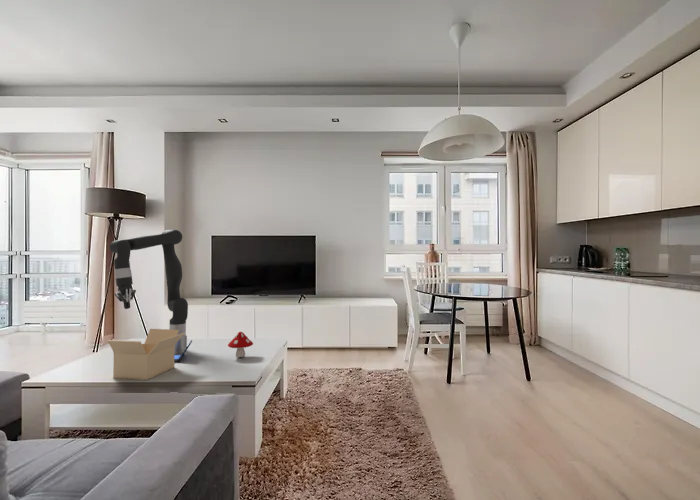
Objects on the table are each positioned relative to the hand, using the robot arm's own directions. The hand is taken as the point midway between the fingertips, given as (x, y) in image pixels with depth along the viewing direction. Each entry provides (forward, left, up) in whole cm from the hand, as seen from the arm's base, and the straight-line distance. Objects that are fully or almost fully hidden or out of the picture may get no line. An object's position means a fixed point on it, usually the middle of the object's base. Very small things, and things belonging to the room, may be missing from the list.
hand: (127, 308), depth 195 cm
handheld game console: (-24, +5, -31) cm, 40 cm away
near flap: (-13, +30, -15) cm, 36 cm away
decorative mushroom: (-53, +24, -31) cm, 66 cm away
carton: (-5, +20, -30) cm, 37 cm away
